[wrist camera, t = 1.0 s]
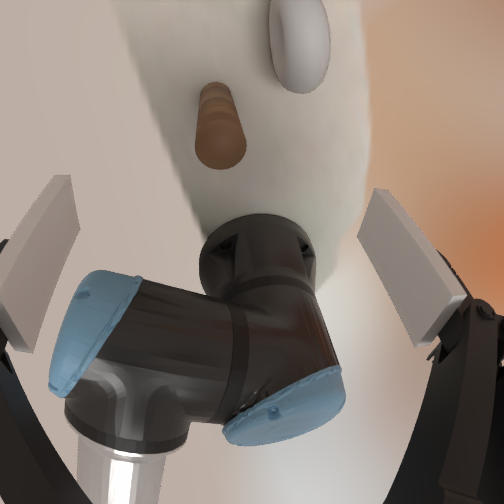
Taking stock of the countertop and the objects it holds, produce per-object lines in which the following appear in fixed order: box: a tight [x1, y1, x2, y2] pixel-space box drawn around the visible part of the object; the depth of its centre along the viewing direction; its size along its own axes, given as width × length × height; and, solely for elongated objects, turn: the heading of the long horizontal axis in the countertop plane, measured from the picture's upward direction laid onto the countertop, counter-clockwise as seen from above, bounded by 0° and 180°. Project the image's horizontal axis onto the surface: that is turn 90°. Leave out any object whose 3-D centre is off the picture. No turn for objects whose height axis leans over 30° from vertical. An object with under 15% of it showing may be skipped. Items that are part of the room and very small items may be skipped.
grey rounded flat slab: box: [269, 0, 331, 94], centre depth 22 cm, size 10×4×10 cm, turn 4°
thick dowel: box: [195, 82, 247, 170], centre depth 23 cm, size 3×3×14 cm
